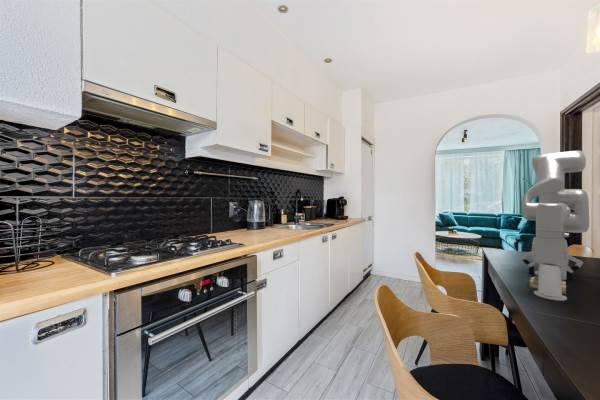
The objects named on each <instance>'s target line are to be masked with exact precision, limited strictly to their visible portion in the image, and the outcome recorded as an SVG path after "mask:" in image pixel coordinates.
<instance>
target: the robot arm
mask: <svg viewBox="0 0 600 400" xmlns="http://www.w3.org/2000/svg"><path fill="white" fill-rule="evenodd" d="M586 164H587V158H586V156H585V154H584V152H583V151H582V150H570V151H569V150H568V151H560V152H559V151H558V152H548V153H542V154H537V155H535V156H534V157H533V158H532V159H531V167H532V169H533V171H534V173H535V175H536V177H537V178H536V183H535V184H534V185H532V186H531V187H529V189H527V190H526V192H525V193H524V195H523V196H522V203H521V215H522V217H523V219H525V220H527V221H535V236H534V237H533V239H532V242H531V243H532V246H531V250H530V251H528V252H524V253H521V254H520V255H519V257H520V259H521V260H522V262H523V263H524V264H526V265H527V267H528V275H530V276H531V277H535V275H536V276H538V270H535V266H534V265H536V264H538V265H539V264H547V265H557V266H560V267H561V269H562V281H565V282H566V283H567V284H570V282H572V281H573V273H574V272H576V271H578V270H579V269H580V268H581V267H582V266H583V264H584V261H582V260H581V259H578V258H576V257H574V256H572V255H569V254H570V253H569V245H568V242H567V241H568V240H566V239H565V238H569V237H570V233H575V234H578V233H586V232H588V230H589V228H590V206H589V205H590V204H589V203H590V202H589V195H588V193H587V191H586V190H584V189H582V188H581V189H580V188H566V187H565V182H566V181H565V173H579V172H582V171H584V169H585V168H586ZM538 197H539V201H540V202H532V201H533V200H534V199H536V198H538ZM571 210H572V211H571ZM528 256H531V261H529V260H528V259H527V258H526V257H528ZM569 261H572V262H575V265H572V266H570V265H569V264H570V262H569ZM531 277H530V278H531Z"/></svg>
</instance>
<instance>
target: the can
mask: <svg viewBox="0 0 600 400" xmlns="http://www.w3.org/2000/svg"><path fill="white" fill-rule="evenodd" d="M537 271H538V275H537V277H538V289H537V290H538V292H539V293H540V294H542V295H546V296H550V297H561V296H562V295H563V293H562V281H563V280H562V269H561V267H560V266H557V265H547V264H539V263H538V268H537Z"/></svg>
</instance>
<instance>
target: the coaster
mask: <svg viewBox="0 0 600 400" xmlns="http://www.w3.org/2000/svg"><path fill="white" fill-rule="evenodd" d="M533 294H534V295H535V296H537V297H539V298H543V299H546V300H551V301H560V302H565V301H567V300H568V298H567V297H568V296H565V294H564V295H563V294H562V296H561V297H550V296H546V295H542V294H540V293H539V292H538V289H537V290H534V291H533Z"/></svg>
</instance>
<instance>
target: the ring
mask: <svg viewBox="0 0 600 400" xmlns="http://www.w3.org/2000/svg"><path fill="white" fill-rule="evenodd" d="M566 283H567V281H566V280H562V295H563V294H564V295H566V293H567V284H566ZM529 288H531V289H537V290H538V276H534V277H530V279H529Z"/></svg>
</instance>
